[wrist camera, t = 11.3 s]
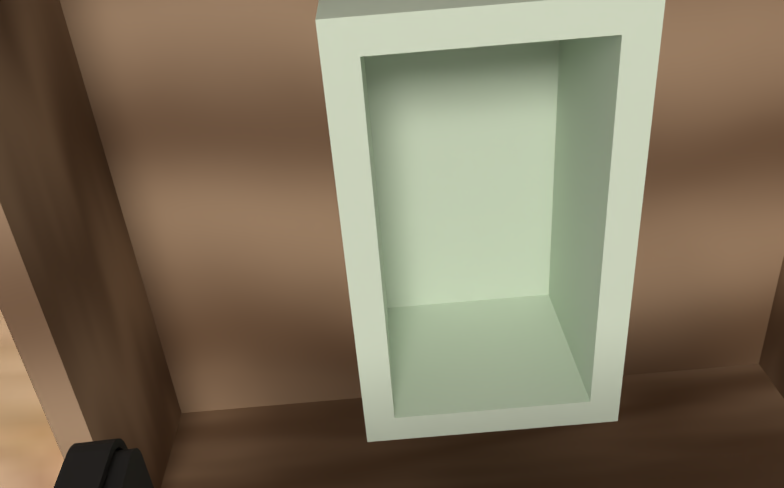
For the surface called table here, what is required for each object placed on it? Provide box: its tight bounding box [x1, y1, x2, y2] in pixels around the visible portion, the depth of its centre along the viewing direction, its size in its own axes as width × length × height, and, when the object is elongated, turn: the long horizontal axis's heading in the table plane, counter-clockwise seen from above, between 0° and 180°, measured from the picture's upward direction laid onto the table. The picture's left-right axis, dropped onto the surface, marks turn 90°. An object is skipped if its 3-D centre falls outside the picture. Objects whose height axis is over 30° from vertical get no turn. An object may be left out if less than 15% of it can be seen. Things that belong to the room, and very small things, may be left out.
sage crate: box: [315, 0, 665, 442], centre depth 17 cm, size 10×6×5 cm, turn 4°
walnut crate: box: [0, 0, 784, 488], centre depth 18 cm, size 18×21×6 cm
